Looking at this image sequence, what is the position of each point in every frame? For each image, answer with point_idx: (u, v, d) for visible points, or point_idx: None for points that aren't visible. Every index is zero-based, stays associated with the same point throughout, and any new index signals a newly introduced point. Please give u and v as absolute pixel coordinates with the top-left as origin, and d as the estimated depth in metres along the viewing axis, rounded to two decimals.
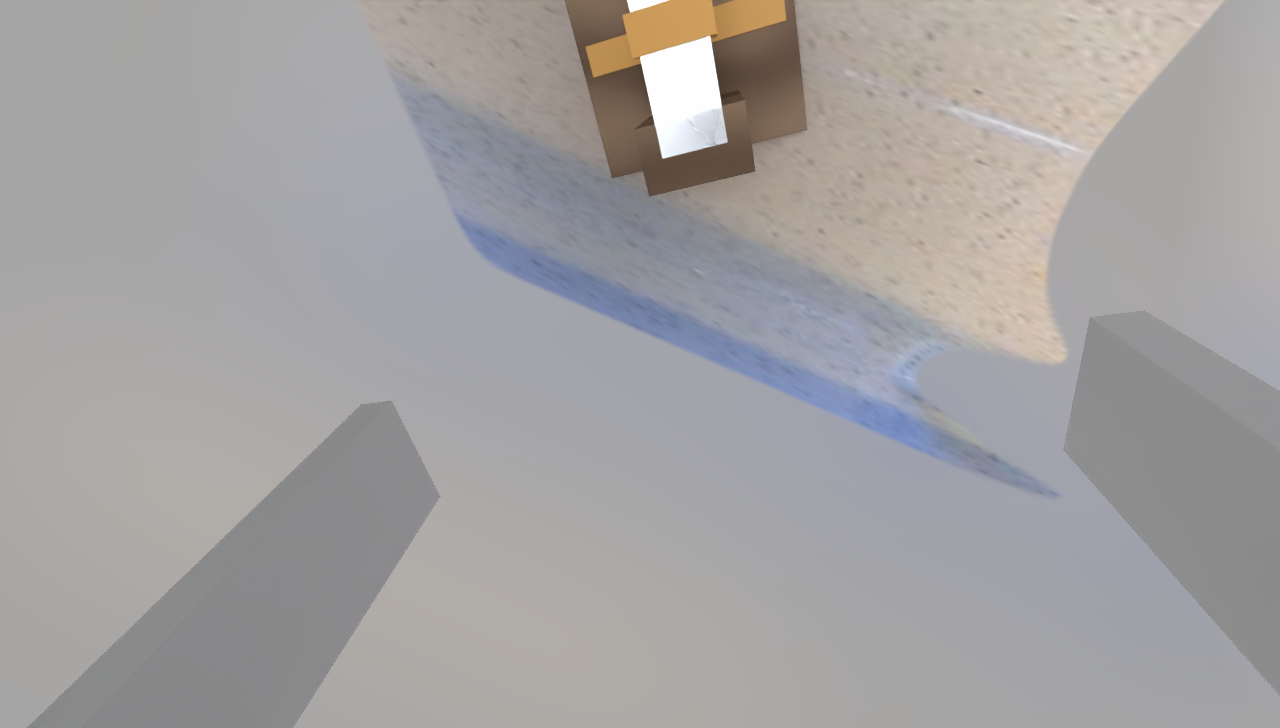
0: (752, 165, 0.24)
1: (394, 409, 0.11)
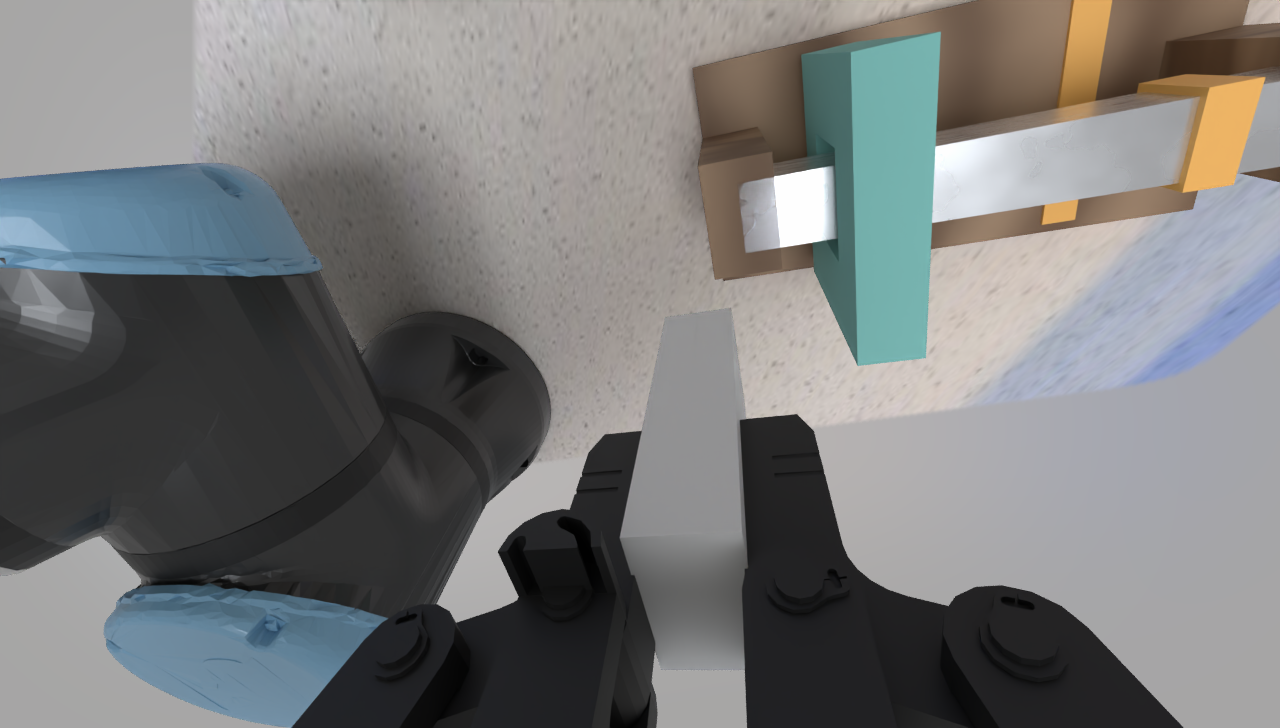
0: None
1: None
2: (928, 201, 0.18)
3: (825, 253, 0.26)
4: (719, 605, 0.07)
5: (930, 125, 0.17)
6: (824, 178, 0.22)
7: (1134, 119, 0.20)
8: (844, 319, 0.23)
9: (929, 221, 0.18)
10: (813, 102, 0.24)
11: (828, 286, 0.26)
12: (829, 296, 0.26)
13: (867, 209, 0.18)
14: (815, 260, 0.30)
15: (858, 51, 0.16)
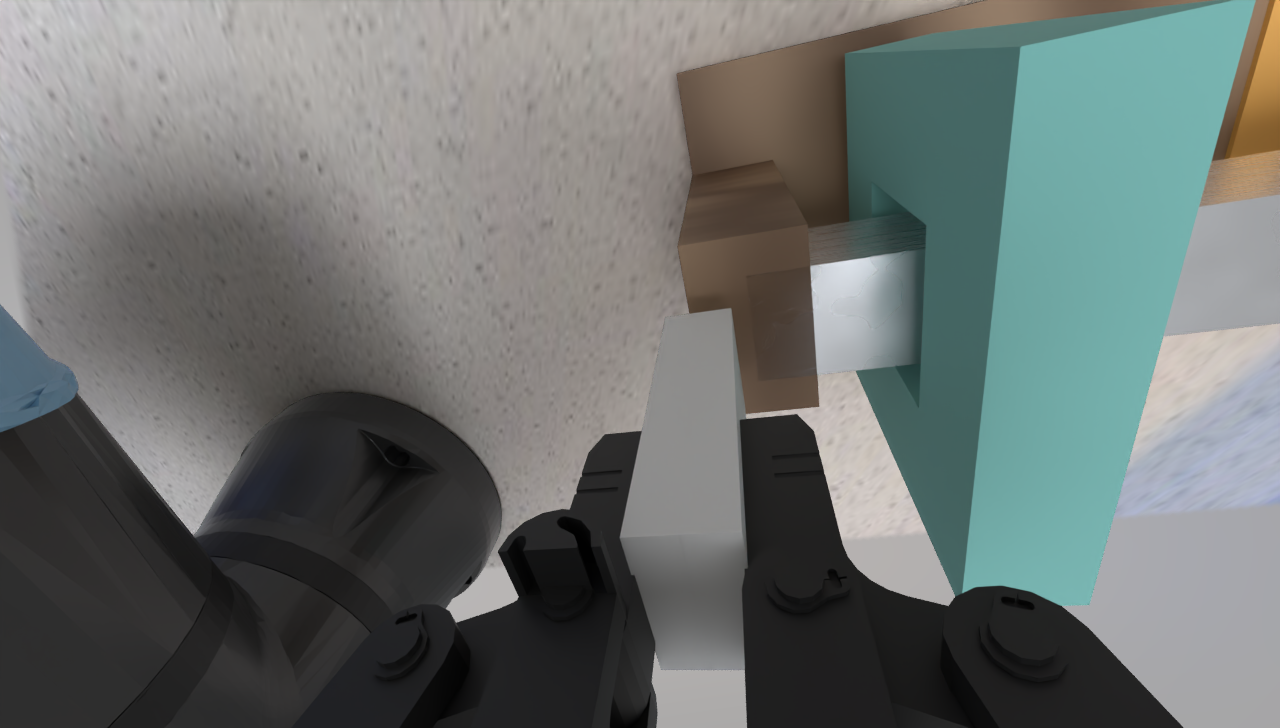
0: None
1: None
2: (1147, 358, 0.09)
3: None
4: (719, 605, 0.07)
5: (1184, 210, 0.08)
6: (898, 269, 0.12)
7: None
8: (926, 500, 0.14)
9: (1142, 393, 0.09)
10: (870, 132, 0.15)
11: (885, 414, 0.17)
12: (886, 428, 0.17)
13: (1014, 368, 0.09)
14: None
15: (1038, 44, 0.07)
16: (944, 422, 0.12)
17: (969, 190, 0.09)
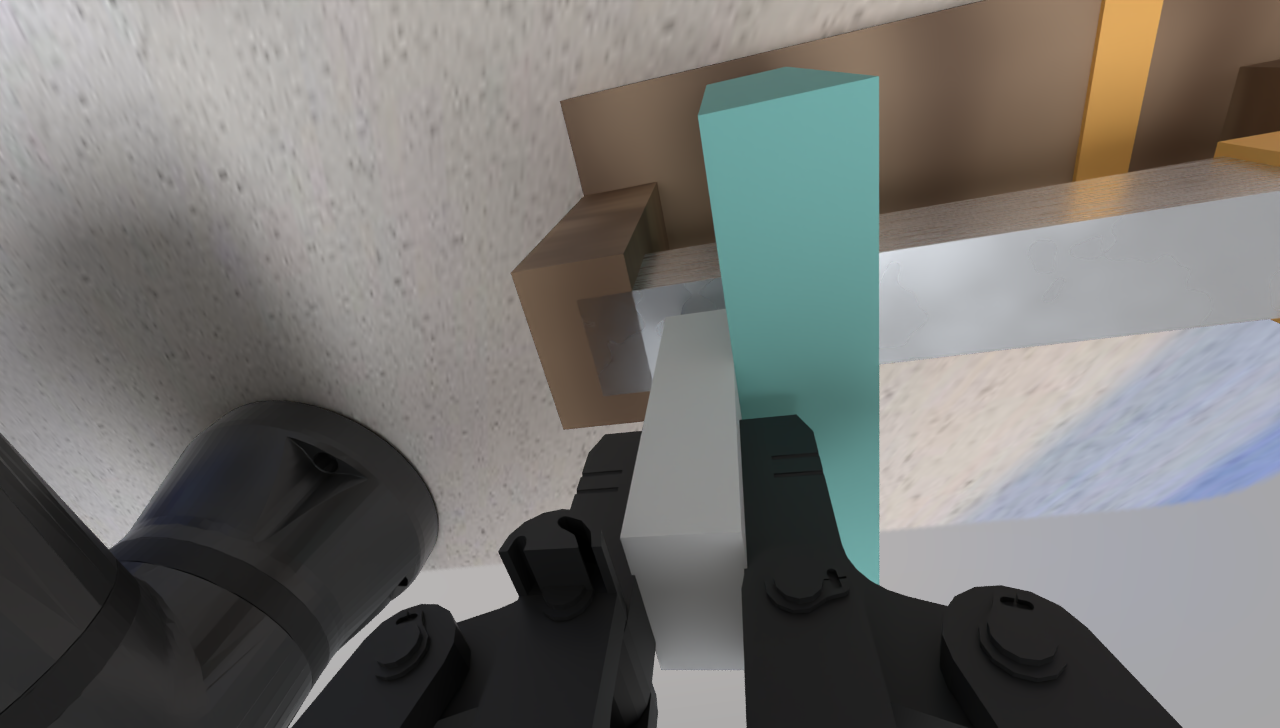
0: None
1: None
2: (871, 382, 0.10)
3: None
4: (718, 605, 0.07)
5: (867, 254, 0.09)
6: (710, 294, 0.13)
7: (1226, 214, 0.11)
8: None
9: (874, 413, 0.10)
10: None
11: None
12: None
13: (761, 390, 0.10)
14: None
15: (713, 114, 0.08)
16: None
17: None
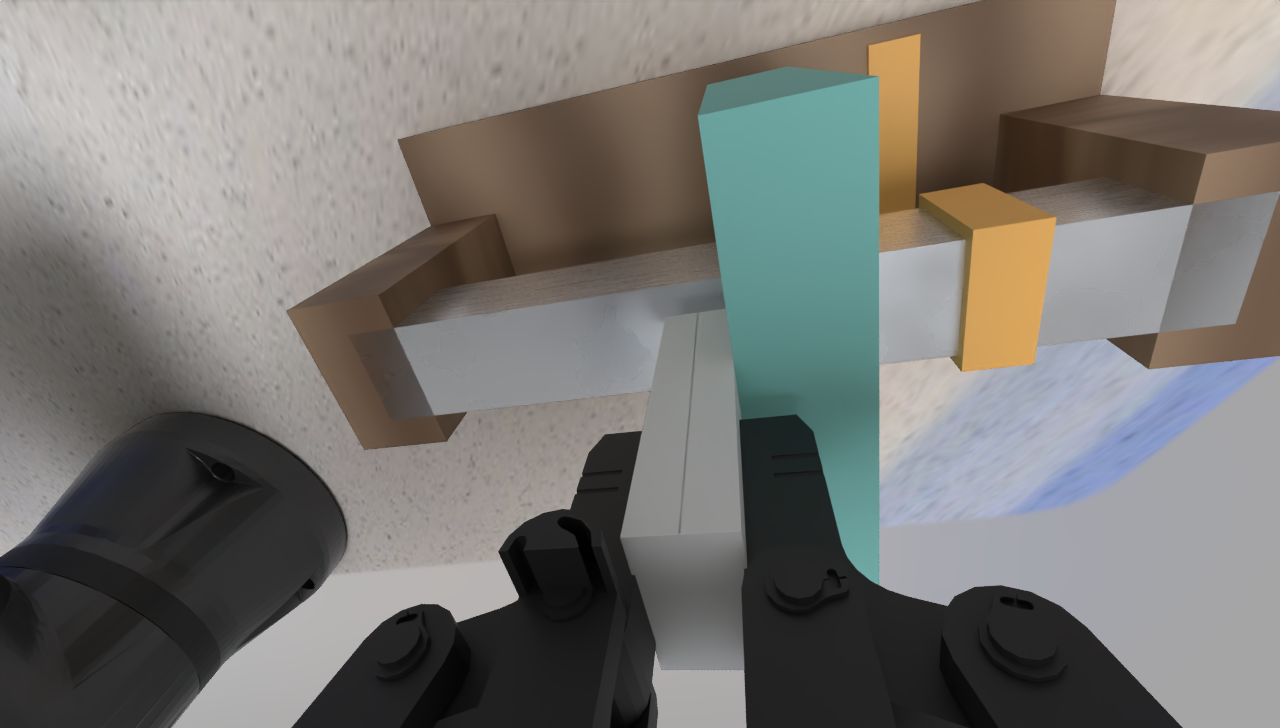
0: None
1: None
2: (870, 382, 0.10)
3: None
4: (719, 605, 0.07)
5: (867, 254, 0.09)
6: (461, 331, 0.15)
7: None
8: None
9: (874, 413, 0.10)
10: None
11: None
12: None
13: (761, 390, 0.10)
14: None
15: (713, 114, 0.08)
16: None
17: None
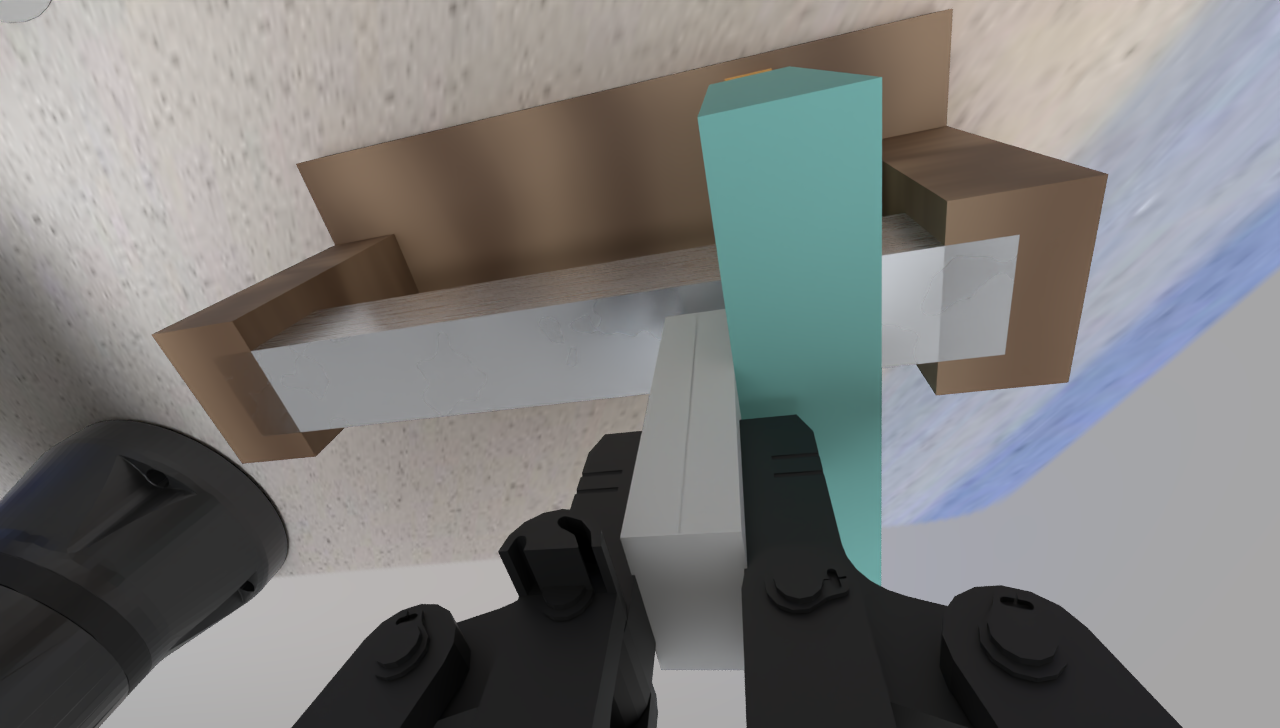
0: (1091, 181, 0.11)
1: None
2: (872, 387, 0.10)
3: None
4: (718, 605, 0.07)
5: (870, 258, 0.08)
6: (312, 355, 0.16)
7: (673, 300, 0.13)
8: None
9: (876, 419, 0.10)
10: None
11: None
12: None
13: (761, 395, 0.10)
14: None
15: (713, 115, 0.08)
16: None
17: None
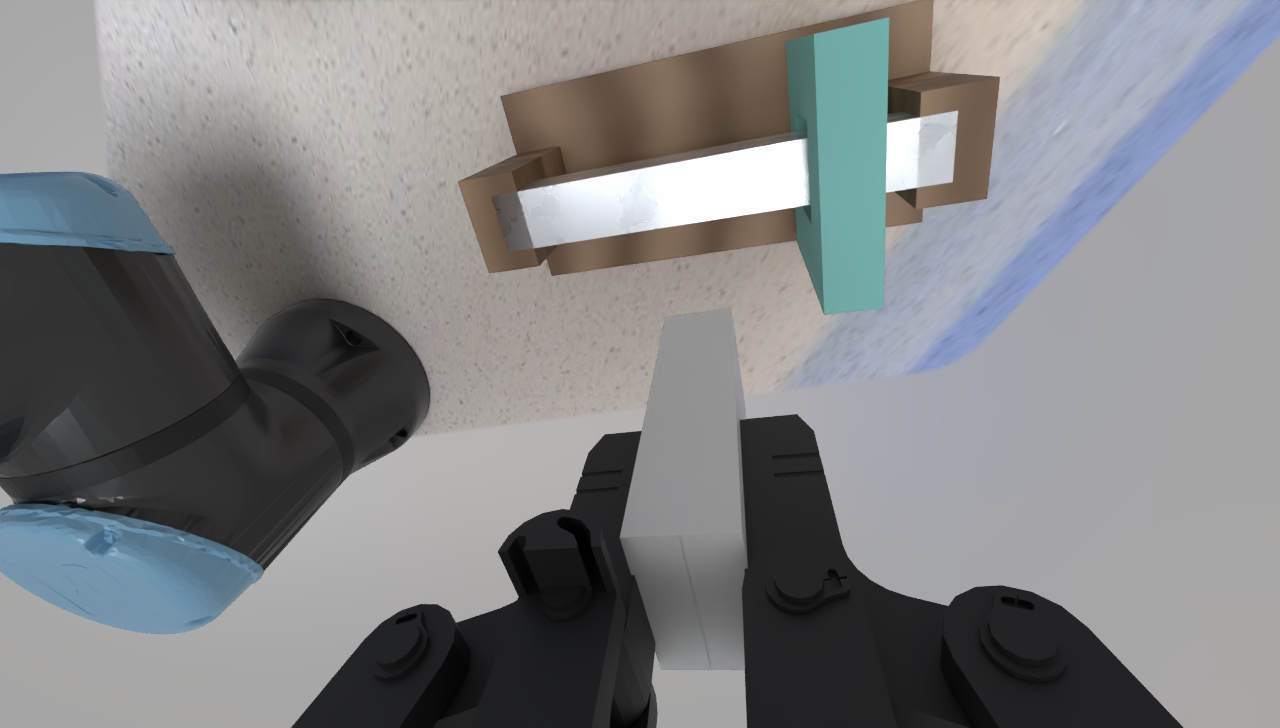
0: (992, 80, 0.22)
1: None
2: (882, 165, 0.21)
3: (803, 221, 0.29)
4: (719, 605, 0.07)
5: (882, 98, 0.20)
6: (555, 193, 0.27)
7: (773, 152, 0.25)
8: (815, 276, 0.26)
9: (883, 183, 0.21)
10: (793, 83, 0.27)
11: (806, 251, 0.29)
12: (806, 260, 0.29)
13: (830, 172, 0.21)
14: (797, 231, 0.33)
15: (820, 33, 0.19)
16: (815, 219, 0.24)
17: (811, 95, 0.21)
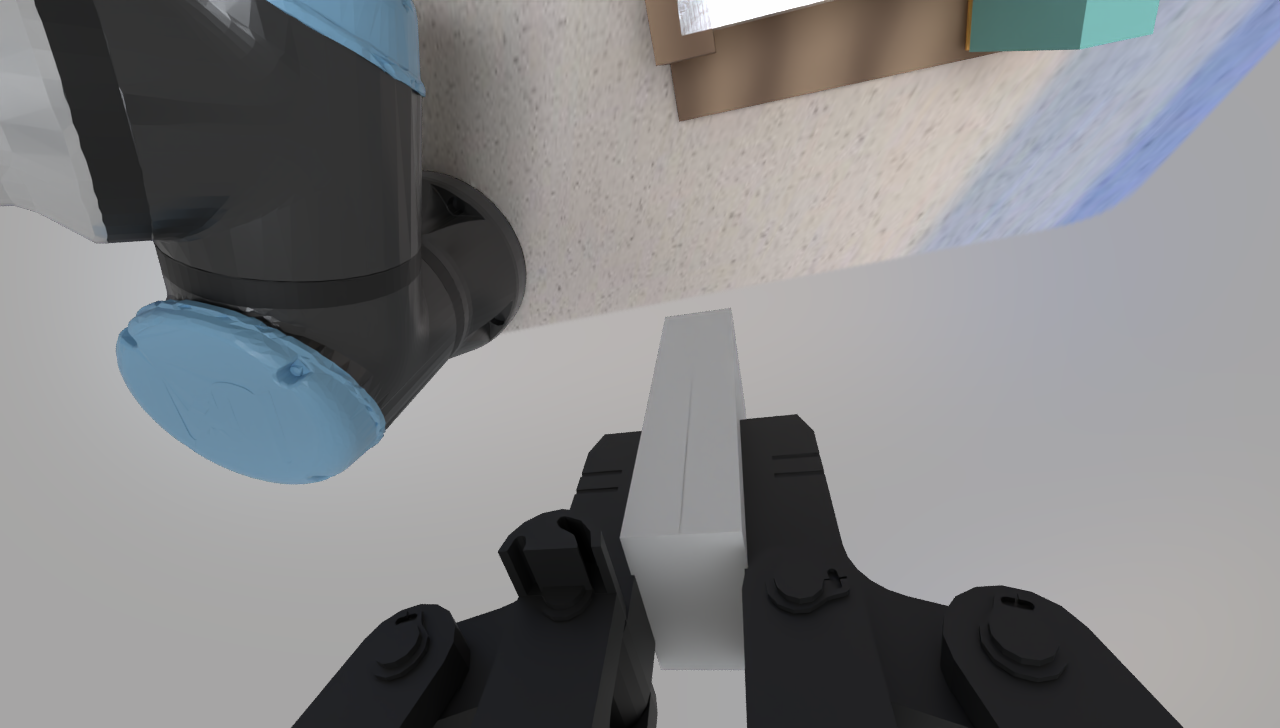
0: None
1: None
2: None
3: None
4: (719, 605, 0.07)
5: None
6: None
7: None
8: (1051, 25, 0.23)
9: None
10: None
11: (1010, 29, 0.26)
12: (1010, 40, 0.27)
13: None
14: (976, 33, 0.30)
15: None
16: None
17: None
